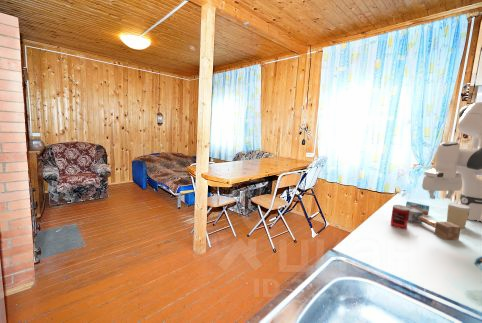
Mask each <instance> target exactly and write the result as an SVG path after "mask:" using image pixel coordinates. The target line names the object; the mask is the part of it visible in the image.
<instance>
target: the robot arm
mask: <svg viewBox="0 0 482 323" xmlns="http://www.w3.org/2000/svg"><path fill="white" fill-rule="evenodd" d="M458 116H459V121H458V123H457V127H458V130H459V132H461V134H464V135H467V136H470V137H472V138H471V143H470V145H471V148H472V149H468V148H460V143H458V142H456V141H444V142H441V143H440V144H439V145H438V147H437V151H436V154H435V165H434V167H433V168H431V169H428V170H425V171H424V177H423V180H422V184H421V187H422V189H423V190H425V191H427V192H428V194H429V199H431V200H434V199H436V195H435V192H436V191H437V192H441V191H443V192H444V191H445V192H447V194H445V199H451V198H452V195H454V193H455V191H461V193H460V195H459V200H458V201H457V204H462V205H465V206H468V207H470V211H469V215H468V218H467V220H470V221H474V220H477V221H476V222H479V221H481V222H480V223H482V180H480V179H479V178H478V177H477V175H479V176H482V101H478V102H474V103H471V104H468V105H465V106H462V107H461V109H460V110H459V114H458Z"/></svg>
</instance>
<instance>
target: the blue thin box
mask: <svg viewBox="0 0 482 323" xmlns="http://www.w3.org/2000/svg"><path fill="white" fill-rule="evenodd" d="M405 206H406V207H408V208H410V209H417V210H419V211H422V212H423V216H428V215H429V212H430V211H429V210H430V205H426V204H422V203H416V202H412V201H408V200H407V201H406V204H405Z"/></svg>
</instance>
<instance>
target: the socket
mask: <svg viewBox="0 0 482 323" xmlns="http://www.w3.org/2000/svg"><path fill="white" fill-rule="evenodd" d="M435 222H436V228H435V229H434V235H435V236H437V237H439V238H441V239H443V240H445V241H447V240H448V241H450V240H452V241H454V240H455V241H457V240H459V239H460V234H461V230H462V228H461V227H460V226H458V225H455V224H453V223H450V222H447V221H435Z"/></svg>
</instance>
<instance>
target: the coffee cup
mask: <svg viewBox="0 0 482 323" xmlns="http://www.w3.org/2000/svg"><path fill="white" fill-rule="evenodd" d="M469 211H470V207H468V206H465V205H462V204H458V203H455V202H454V203H453V202H450V203H448V204H447V214H446V215H447V216H446V222H450V223H453V224H455V225H458V226H460V227H461V229H465V228H466V225H467V221H468V219H467V218H468V215H469Z"/></svg>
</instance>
